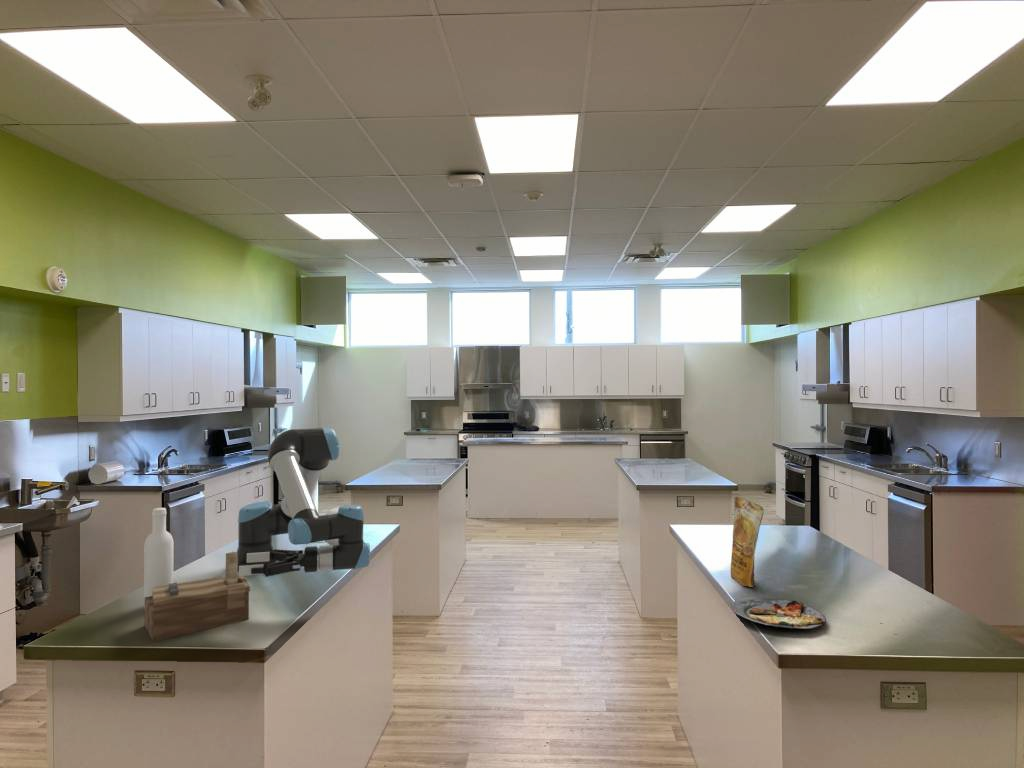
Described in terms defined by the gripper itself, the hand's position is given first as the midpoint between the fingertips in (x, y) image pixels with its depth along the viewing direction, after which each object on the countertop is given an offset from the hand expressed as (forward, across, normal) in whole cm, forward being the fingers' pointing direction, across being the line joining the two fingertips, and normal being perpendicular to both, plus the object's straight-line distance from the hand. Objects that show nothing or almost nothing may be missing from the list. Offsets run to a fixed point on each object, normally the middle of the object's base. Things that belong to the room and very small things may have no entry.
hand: (242, 564), depth 175 cm
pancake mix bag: (-163, -14, -15) cm, 165 cm away
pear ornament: (-22, +73, -14) cm, 77 cm away
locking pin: (+3, +1, -11) cm, 11 cm away
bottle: (+26, +15, -15) cm, 34 cm away
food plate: (-151, -46, -15) cm, 158 cm away
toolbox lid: (+11, -1, -7) cm, 13 cm away
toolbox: (+12, -3, -15) cm, 19 cm away
